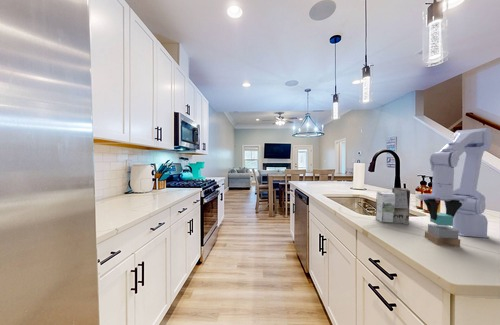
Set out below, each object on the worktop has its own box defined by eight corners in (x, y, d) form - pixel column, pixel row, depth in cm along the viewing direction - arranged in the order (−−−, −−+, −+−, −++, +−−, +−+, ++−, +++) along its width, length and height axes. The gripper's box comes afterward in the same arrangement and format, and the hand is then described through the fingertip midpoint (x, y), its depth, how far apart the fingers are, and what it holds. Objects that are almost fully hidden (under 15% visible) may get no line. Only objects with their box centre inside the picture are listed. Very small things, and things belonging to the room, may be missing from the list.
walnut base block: (445, 240, 78) (445, 232, 78) (459, 248, 72) (460, 239, 71) (424, 238, 80) (424, 230, 80) (436, 245, 73) (437, 237, 73)
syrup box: (387, 219, 102) (388, 191, 102) (394, 223, 96) (395, 193, 96) (375, 219, 103) (376, 191, 102) (381, 222, 97) (382, 193, 96)
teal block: (443, 222, 78) (444, 213, 77) (452, 226, 73) (453, 216, 73) (430, 221, 78) (430, 212, 78) (438, 224, 74) (438, 215, 74)
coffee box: (409, 224, 94) (410, 190, 94) (392, 222, 98) (393, 189, 97) (406, 219, 102) (407, 188, 102) (390, 217, 106) (391, 187, 105)
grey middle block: (445, 232, 78) (446, 225, 78) (458, 238, 72) (458, 230, 72) (427, 231, 79) (428, 223, 79) (438, 237, 73) (439, 229, 73)
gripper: (427, 184, 73) (425, 221, 73) (475, 186, 70) (473, 224, 70) (415, 182, 80) (414, 215, 80) (459, 183, 77) (457, 218, 77)
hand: (441, 219), depth 76 cm, fingers closed on teal block, 4 cm apart
